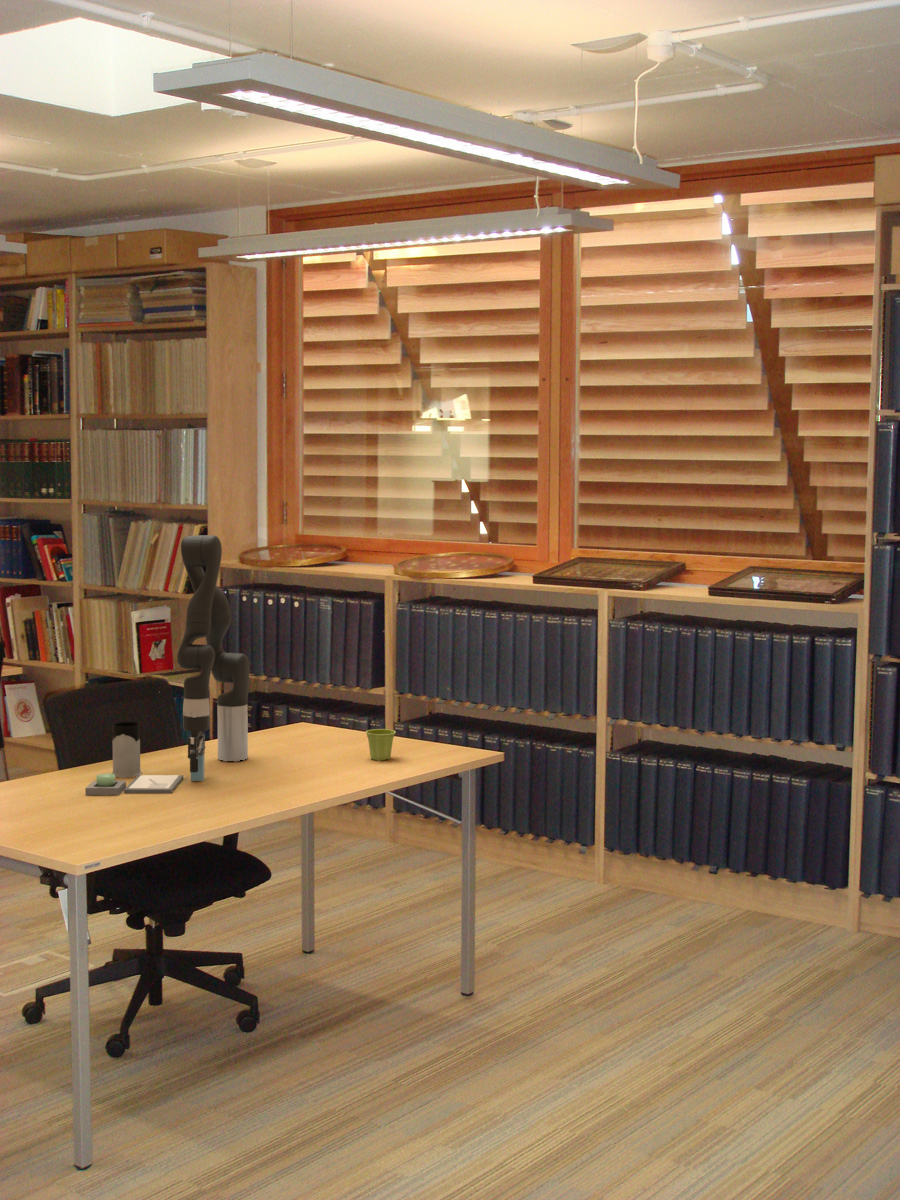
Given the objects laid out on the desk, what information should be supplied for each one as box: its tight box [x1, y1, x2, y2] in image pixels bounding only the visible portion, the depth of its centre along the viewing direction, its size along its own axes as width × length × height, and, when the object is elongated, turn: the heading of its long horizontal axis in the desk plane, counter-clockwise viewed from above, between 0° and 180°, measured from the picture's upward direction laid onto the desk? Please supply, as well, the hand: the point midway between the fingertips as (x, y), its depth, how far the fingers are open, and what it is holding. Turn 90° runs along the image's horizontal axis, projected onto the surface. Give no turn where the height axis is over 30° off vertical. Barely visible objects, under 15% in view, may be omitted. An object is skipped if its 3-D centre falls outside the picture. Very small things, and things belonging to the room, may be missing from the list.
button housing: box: [84, 780, 127, 796], centre depth 356 cm, size 9×9×2 cm
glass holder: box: [111, 721, 143, 779], centre depth 380 cm, size 9×14×15 cm, turn 1°
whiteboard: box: [123, 774, 184, 794], centre depth 364 cm, size 18×13×1 cm
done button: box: [95, 773, 116, 786], centre depth 356 cm, size 5×5×2 cm
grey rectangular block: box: [190, 747, 206, 782], centre depth 371 cm, size 4×4×9 cm
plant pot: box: [365, 728, 396, 761], centre depth 402 cm, size 9×9×9 cm
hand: (196, 769), depth 370 cm, fingers open, 8 cm apart
